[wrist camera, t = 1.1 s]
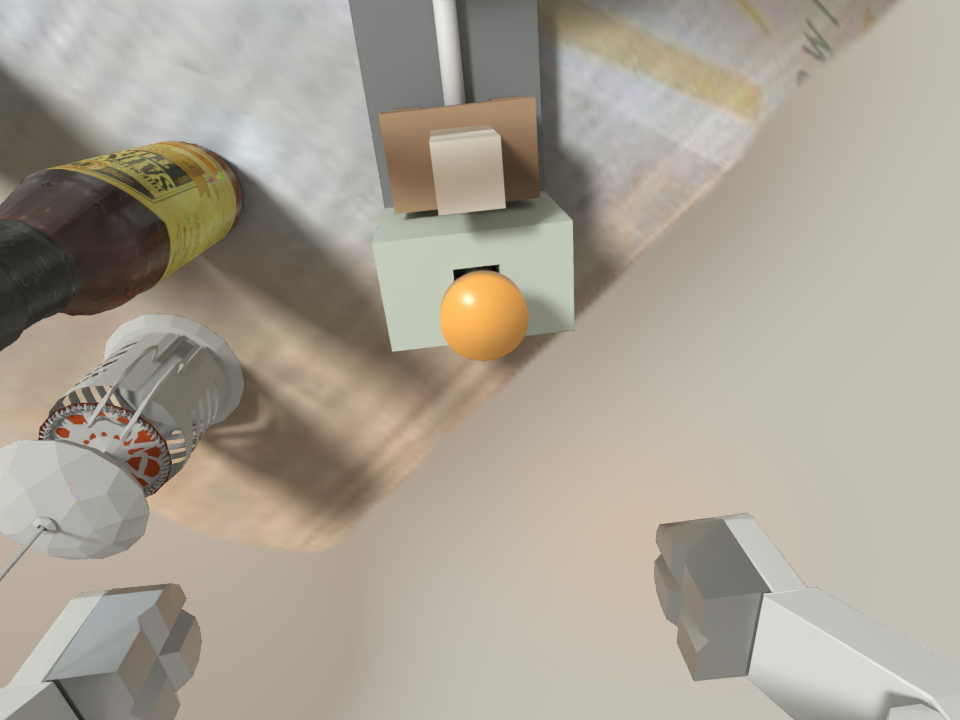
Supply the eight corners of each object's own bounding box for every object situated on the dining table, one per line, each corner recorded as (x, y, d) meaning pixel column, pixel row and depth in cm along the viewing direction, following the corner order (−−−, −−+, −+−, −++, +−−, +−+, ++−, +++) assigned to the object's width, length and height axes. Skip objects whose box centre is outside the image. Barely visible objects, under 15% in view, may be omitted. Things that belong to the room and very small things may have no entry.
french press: (83, 391, 41) (-338, 772, 18) (141, 266, 37) (-307, 558, 15) (212, 449, 44) (-16, 833, 22) (278, 339, 40) (81, 671, 18)
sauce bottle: (239, 140, 34) (22, 213, 16) (253, 241, 36) (82, 396, 19) (126, 135, 33) (-228, 204, 15) (149, 237, 36) (-126, 395, 18)
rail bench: (315, -219, 26) (255, -365, 18) (520, -238, 27) (563, -393, 18) (402, 288, 39) (392, 351, 30) (542, 271, 39) (574, 330, 30)
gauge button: (435, 245, 29) (434, 284, 24) (509, 236, 29) (526, 274, 24) (444, 314, 31) (446, 365, 26) (514, 306, 31) (530, 355, 26)
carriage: (385, 110, 31) (365, 124, 22) (524, 94, 31) (559, 102, 23) (399, 199, 34) (386, 244, 25) (528, 184, 34) (561, 224, 25)
